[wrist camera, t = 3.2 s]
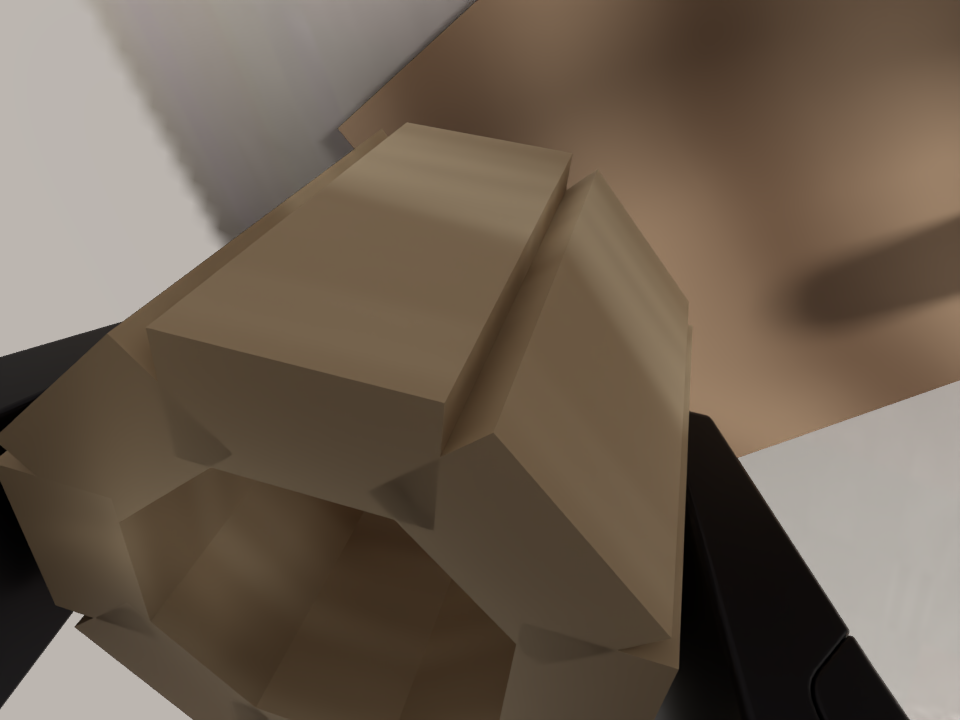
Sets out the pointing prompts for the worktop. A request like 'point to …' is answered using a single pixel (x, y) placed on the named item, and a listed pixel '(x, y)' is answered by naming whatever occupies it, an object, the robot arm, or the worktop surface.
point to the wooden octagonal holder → (384, 454)
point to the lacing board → (744, 176)
